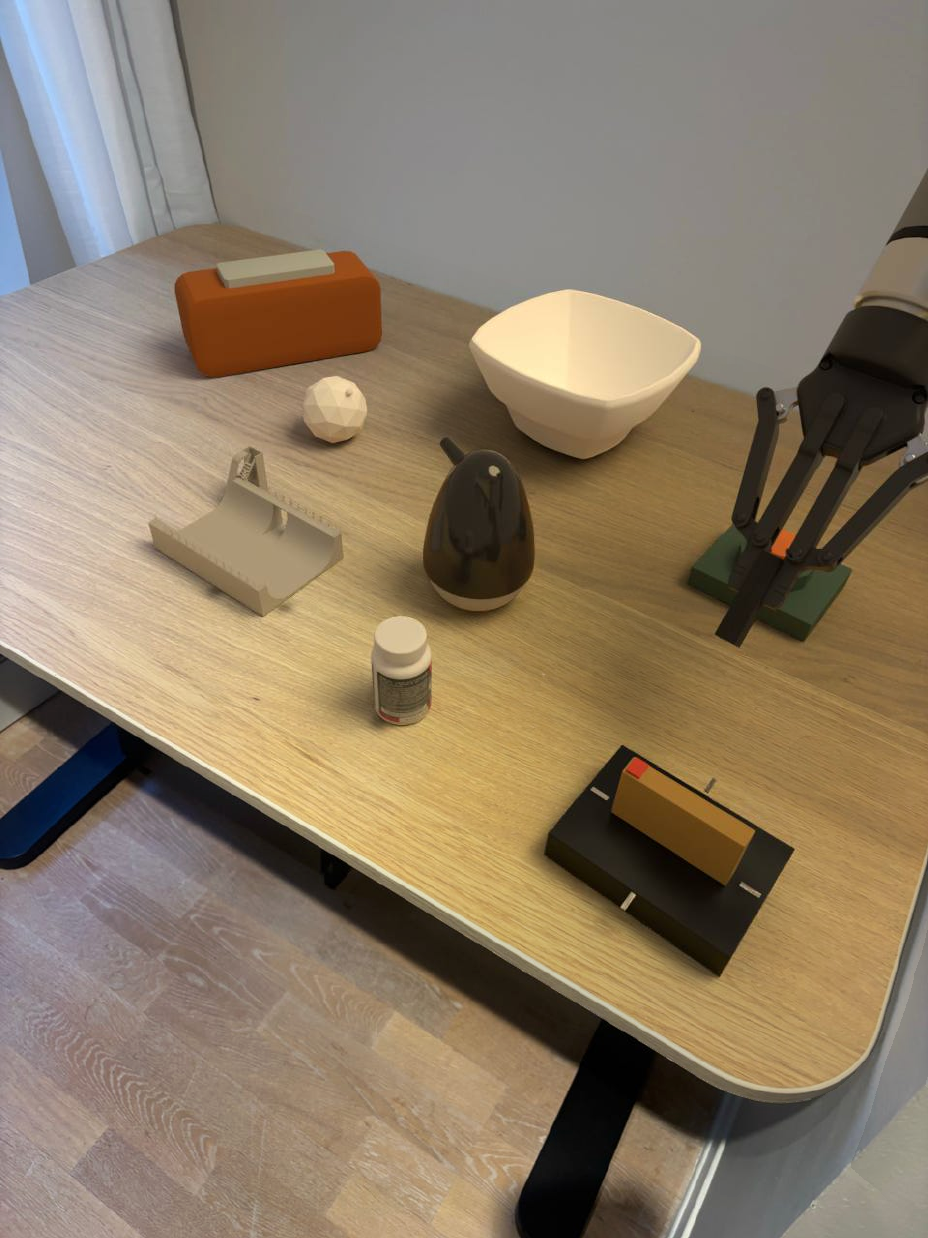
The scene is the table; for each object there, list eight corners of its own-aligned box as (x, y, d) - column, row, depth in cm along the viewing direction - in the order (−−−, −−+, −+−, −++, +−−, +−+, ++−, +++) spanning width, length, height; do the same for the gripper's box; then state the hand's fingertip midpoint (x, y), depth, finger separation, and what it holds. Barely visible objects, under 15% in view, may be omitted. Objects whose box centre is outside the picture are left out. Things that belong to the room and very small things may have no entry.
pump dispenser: (477, 540, 88) (485, 407, 77) (552, 594, 82) (572, 459, 72) (398, 584, 83) (396, 448, 72) (473, 645, 77) (483, 508, 67)
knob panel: (791, 855, 64) (805, 832, 61) (708, 997, 56) (720, 976, 54) (626, 754, 69) (633, 730, 67) (530, 870, 62) (535, 847, 60)
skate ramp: (155, 547, 85) (143, 506, 81) (256, 485, 93) (249, 445, 89) (263, 616, 79) (255, 574, 75) (361, 544, 87) (359, 503, 83)
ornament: (354, 411, 104) (384, 376, 97) (344, 463, 101) (374, 430, 94) (299, 386, 100) (327, 349, 94) (287, 439, 97) (314, 404, 91)
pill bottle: (441, 712, 72) (444, 642, 66) (391, 735, 70) (389, 665, 64) (413, 674, 75) (412, 604, 69) (363, 696, 73) (359, 625, 67)
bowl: (554, 365, 114) (565, 277, 105) (703, 431, 104) (727, 340, 95) (440, 432, 101) (442, 338, 93) (596, 514, 91) (613, 417, 83)
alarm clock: (362, 321, 120) (358, 238, 112) (383, 349, 115) (380, 263, 107) (186, 350, 113) (168, 262, 105) (199, 381, 107) (182, 291, 99)
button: (805, 555, 82) (811, 541, 81) (788, 576, 80) (794, 562, 79) (766, 537, 84) (771, 523, 83) (748, 558, 82) (753, 543, 80)
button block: (844, 585, 85) (859, 554, 82) (804, 642, 79) (818, 610, 76) (732, 534, 90) (742, 503, 87) (686, 583, 84) (696, 552, 81)
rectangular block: (735, 869, 59) (757, 828, 55) (725, 886, 58) (746, 845, 55) (622, 797, 63) (634, 754, 59) (610, 812, 62) (622, 769, 58)
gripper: (997, 384, 59) (819, 690, 61) (813, 322, 64) (656, 605, 66) (1014, 338, 52) (813, 685, 54) (807, 274, 57) (632, 590, 60)
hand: (727, 640), depth 60 cm, fingers closed
